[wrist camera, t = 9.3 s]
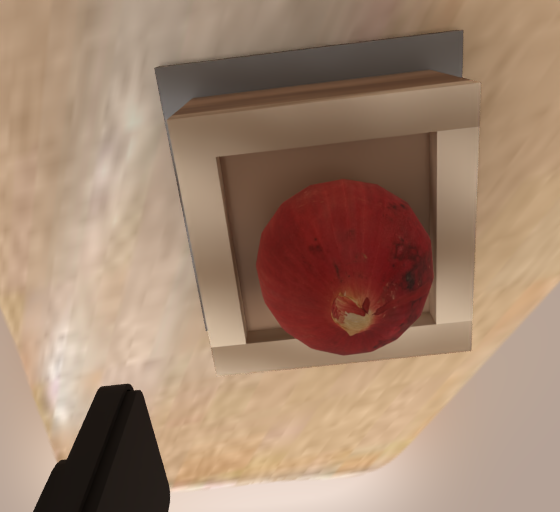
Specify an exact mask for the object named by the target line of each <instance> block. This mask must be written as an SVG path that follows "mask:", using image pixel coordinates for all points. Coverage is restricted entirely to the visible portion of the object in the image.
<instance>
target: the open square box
mask: <svg viewBox="0 0 560 512" xmlns="http://www.w3.org/2000/svg"><path fill="white" fill-rule="evenodd" d="M462 65H463V30H455V31H446V32H438V33H430V34H422V35H414V36H406V37H397V38H389V39H381V40H373V41H365V42H357V43H348V44H340V45H332V46H324V47H316V48H308V49H299V50H291V51H283V52H275V53H267V54H259V55H250V56H242V57H234V58H226V59H218V60H210V61H201V62H193V63H185V64H177V65H169V66H161V67H156V68H154V69H155V74H156V79H157V84H158V89H159V94H160V99H161V104H162V110H163V115H164V120H165V125H166V130H167V135H168V140H169V145H170V150H171V155H172V160H173V165H174V170H175V176H176V181H177V186H178V191H179V196H180V201H181V206H182V211H183V216H184V221H185V226H186V231H187V236H188V242H189V247H190V252H191V257H192V262H193V267H194V272H195V277H196V282H197V287H198V292H199V297H200V302H201V307H202V313H203V318H204V323H205V328H206V331H208V335H209V340H210V345H211V350H212V355H213V360H214V365H215V371H216V376H217V377H219V376H229V375H238V374H248V373H258V372H268V371H278V370H288V369H298V368H308V367H317V366H327V365H337V364H347V363H357V362H367V361H377V360H387V359H396V358H406V357H416V356H426V355H436V354H446V353H456V352H466V351H471V346H472V319H473V292H474V264H475V237H476V210H477V183H478V155H479V128H480V101H481V82H477V81H473V80H469V79H465V78H462ZM340 179H348V180H354V181H360V182H366V183H372V184H378V185H379V186H381V187H382V188H384V189H386V190H387V191H389V192H391V193H392V194H394V195H396V196H397V197H399V198H401V199H402V200H404V201H406V202H407V203H408V204H409V205H410V207H411V208H412V210H413V212H414V213H415V215H416V216H417V218H418V219H419V221H420V223H421V224H422V226H423V227H424V229H425V230H426V232H427V233H428V235H429V238H430V240H431V247H432V260H433V273H434V279H433V282H432V285H431V288H430V291H429V294H428V297H427V299H426V302H425V305H424V308H423V311H422V313H421V316H420V317H419V318H418V319H417V320H416V321H415V322H414V323H413V324H412V325H411V326H410V327H409V328H408V329H407V330H406V331H405V332H404V333H403V334H402V335H401V336H400V337H399V338H398V339H397V340H395V341H393V342H391V343H389V344H387V345H385V346H383V347H381V348H379V349H377V350H375V351H373V352H368V353H361V354H353V355H345V356H342V355H338V354H333V353H328V352H324V351H319V350H315V349H311V348H310V347H308V346H307V345H305V344H304V343H302V342H301V341H299V340H297V339H296V338H294V337H293V336H291V335H290V334H288V333H287V332H286V331H285V330H284V329H283V328H282V327H281V326H280V324H279V323H278V321H277V320H276V318H275V317H274V315H273V314H272V313H271V311H270V310H269V308H268V307H267V305H266V304H265V301H264V299H263V296H262V292H261V287H260V282H259V278H258V273H257V269H256V261H257V255H258V250H259V244H260V238H261V233H262V232H263V230H264V228H265V227H266V225H267V224H268V222H269V221H270V220H271V218H272V217H273V216H274V214H275V213H276V211H277V210H278V208H279V207H280V205H281V204H282V203H283V202H284V201H286V200H287V199H289V198H291V197H292V196H294V195H295V194H297V193H298V192H300V191H301V190H303V189H305V188H306V187H308V186H309V185H313V184H318V183H324V182H329V181H334V180H340Z"/></svg>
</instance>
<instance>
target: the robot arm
mask: <svg viewBox="0 0 560 512" xmlns="http://www.w3.org/2000/svg"><path fill="white" fill-rule="evenodd" d="M169 504H170V488H169V484H168V480H167V477H166V473H165V470H164V466H163V463H162V459H161V456H160V452H159V449H158V445H157V441H156V438H155V434H154V431H153V427H152V424H151V420H150V417H149V413H148V410H147V406H146V403H145V399H144V396H143V393H142V392H141V390H135V391H134V390H133V387H132V386H131V384H121V385H111V386H102V387H100V388H99V389H98V391H97V393H96V395H95V397H94V400H93V402H92V404H91V406H90V409H89V411H88V413H87V415H86V418H85V420H84V422H83V424H82V427H81V429H80V431H79V433H78V436H77V438H76V440H75V442H74V445H73V447H72V449H71V451H70V454H69V456H68V458H67V460H61V461H59V462H58V463H57V464H56V465H55V467H54V469H53V470H52V472H51V474H50V476H49V479H48V481H47V483H46V485H45V487H44V489H43V491H42V494H41V496H40V498H39V500H38V502H37V504H36V507H35V509H34V511H33V512H168V510H169Z"/></svg>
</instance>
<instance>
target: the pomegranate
mask: <svg viewBox="0 0 560 512" xmlns="http://www.w3.org/2000/svg"><path fill="white" fill-rule="evenodd" d="M256 269H257V273H258V278H259V282H260V287H261V292H262V296H263V299H264V301H265V304H266V305H267V307H268V308H269V310H270V311H271V313H272V314H273V315H274V317H275V318H276V320H277V321H278V323H279V324H280V326H281V327H282V328H283V329H284V330H285V331H286V332H287V333H288V334H290V335H291V336H293V337H294V338H296V339H297V340H299V341H301V342H302V343H304V344H305V345H307V346H308V347H310V348H311V349H315V350H319V351H324V352H328V353H333V354H338V355H342V356H345V355H353V354H361V353H368V352H373V351H375V350H377V349H379V348H381V347H383V346H385V345H387V344H389V343H391V342H393V341H395V340H397V339H398V338H399V337H400V336H401V335H402V334H403V333H404V332H405V331H406V330H407V329H408V328H409V327H410V326H411V325H412V324H413V323H414V322H415V321H416V320H417V319H418V318H419V317H420V316H421V313H422V311H423V308H424V305H425V302H426V299H427V297H428V294H429V291H430V288H431V285H432V282H433V279H434V273H433V260H432V247H431V240H430V238H429V235H428V233H427V232H426V230H425V229H424V227H423V226H422V224H421V223H420V221H419V219H418V218H417V216H416V215H415V213H414V212H413V210H412V208H411V207H410V205H409V204H408V203H407V202H406V201H404V200H402V199H401V198H399V197H397V196H396V195H394V194H392V193H391V192H389V191H387V190H386V189H384V188H382V187H381V186H379V185H378V184H372V183H366V182H360V181H354V180H348V179H340V180H334V181H329V182H324V183H318V184H313V185H309V186H308V187H306V188H305V189H303V190H301V191H300V192H298V193H297V194H295V195H294V196H292V197H291V198H289V199H287V200H286V201H284V202H283V203H282V204H281V205H280V207H279V208H278V210H277V211H276V213H275V214H274V216H273V217H272V218H271V220H270V221H269V222H268V224H267V225H266V227H265V228H264V230H263V232H262V233H261V238H260V244H259V250H258V255H257V261H256Z"/></svg>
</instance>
